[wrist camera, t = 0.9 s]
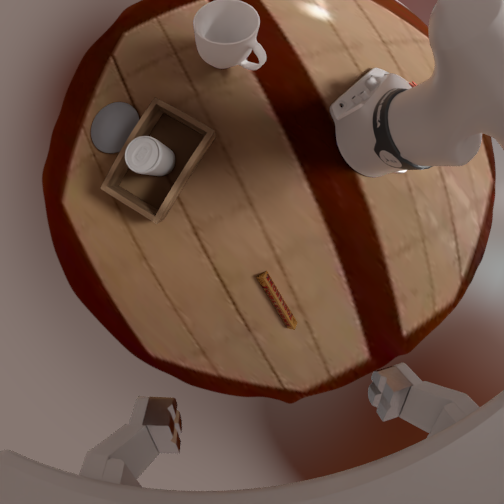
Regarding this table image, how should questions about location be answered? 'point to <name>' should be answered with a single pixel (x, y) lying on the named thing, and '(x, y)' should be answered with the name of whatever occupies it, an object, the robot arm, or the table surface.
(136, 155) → the beverage can
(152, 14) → the table surface
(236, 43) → the mug
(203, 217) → the table surface
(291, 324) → the chocolate bar
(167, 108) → the box
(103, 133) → the slate coaster
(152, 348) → the table surface
